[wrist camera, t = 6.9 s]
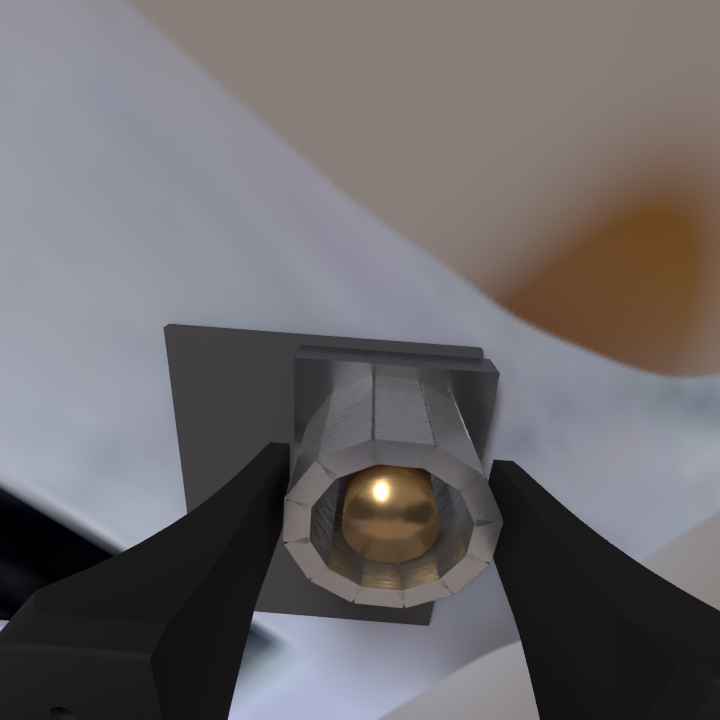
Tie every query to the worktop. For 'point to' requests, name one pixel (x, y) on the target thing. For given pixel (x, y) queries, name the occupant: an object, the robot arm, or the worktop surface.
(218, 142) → the worktop surface
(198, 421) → the mat
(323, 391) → the doorknob
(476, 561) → the ring
